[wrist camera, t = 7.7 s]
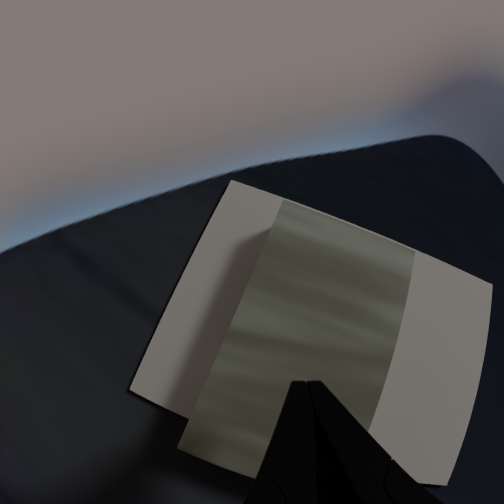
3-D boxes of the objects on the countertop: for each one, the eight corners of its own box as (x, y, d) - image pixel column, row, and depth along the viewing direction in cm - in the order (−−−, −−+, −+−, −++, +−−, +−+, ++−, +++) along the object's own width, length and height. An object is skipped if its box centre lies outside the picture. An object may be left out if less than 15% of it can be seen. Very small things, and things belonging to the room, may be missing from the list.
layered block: (338, 500, 10) (415, 251, 14) (176, 448, 11) (283, 199, 15) (324, 484, 12) (395, 269, 17) (186, 438, 13) (278, 224, 18)
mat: (443, 484, 12) (446, 485, 12) (131, 389, 14) (129, 389, 14) (489, 286, 17) (492, 285, 16) (231, 182, 19) (231, 180, 19)
